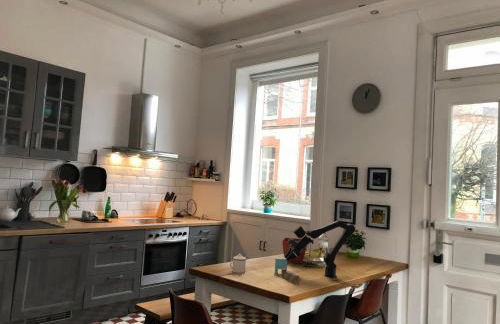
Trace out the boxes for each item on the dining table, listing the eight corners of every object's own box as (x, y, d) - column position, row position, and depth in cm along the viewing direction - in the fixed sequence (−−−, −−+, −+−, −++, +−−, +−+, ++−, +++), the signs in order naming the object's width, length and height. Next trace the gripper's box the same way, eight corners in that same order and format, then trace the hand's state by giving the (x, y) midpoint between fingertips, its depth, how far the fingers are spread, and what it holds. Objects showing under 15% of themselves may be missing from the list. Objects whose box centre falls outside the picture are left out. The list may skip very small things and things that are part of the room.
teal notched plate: (286, 273, 273) (287, 258, 274) (286, 274, 271) (287, 259, 271) (274, 272, 273) (275, 257, 274) (274, 273, 271) (275, 258, 271)
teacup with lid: (240, 269, 277) (241, 252, 277) (248, 272, 270) (249, 254, 270) (225, 270, 270) (226, 253, 270) (233, 273, 262) (234, 256, 263)
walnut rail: (281, 276, 263) (281, 268, 263) (284, 276, 264) (284, 268, 264) (295, 284, 245) (295, 276, 245) (298, 284, 245) (299, 276, 246)
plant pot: (305, 264, 306) (306, 242, 307) (280, 262, 310) (282, 240, 311) (307, 260, 325) (308, 239, 325) (283, 258, 329) (285, 237, 329)
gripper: (293, 232, 283) (277, 247, 282) (296, 236, 264) (278, 252, 264) (304, 244, 282) (287, 259, 282) (307, 249, 264) (290, 264, 263)
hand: (285, 258), depth 273 cm, fingers open, 9 cm apart
